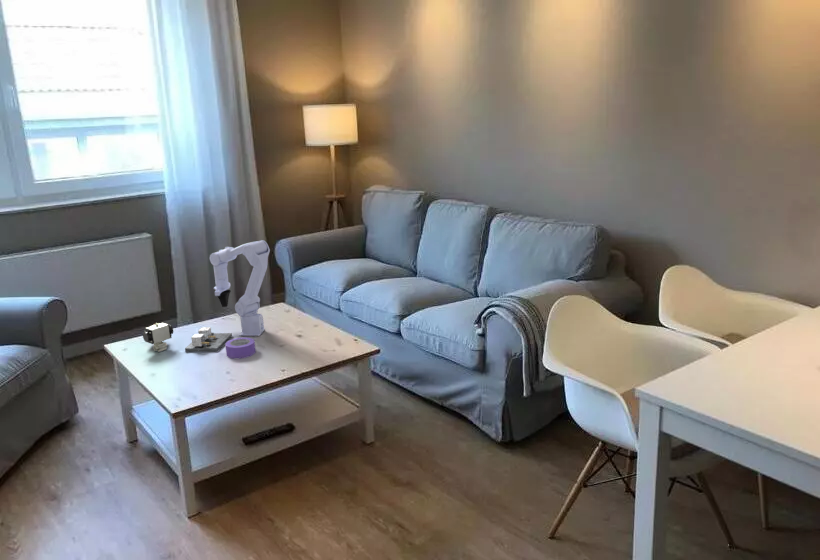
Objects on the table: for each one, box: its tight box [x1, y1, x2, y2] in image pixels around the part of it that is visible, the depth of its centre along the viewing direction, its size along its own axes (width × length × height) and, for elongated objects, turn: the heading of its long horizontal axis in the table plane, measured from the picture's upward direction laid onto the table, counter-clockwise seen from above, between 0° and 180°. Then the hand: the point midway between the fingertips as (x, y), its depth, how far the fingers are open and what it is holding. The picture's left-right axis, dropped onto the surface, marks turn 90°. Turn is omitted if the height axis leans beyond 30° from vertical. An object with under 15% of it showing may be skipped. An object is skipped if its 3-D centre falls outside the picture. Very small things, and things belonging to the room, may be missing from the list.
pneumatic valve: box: [142, 322, 174, 353], centre depth 293 cm, size 6×12×12 cm, turn 140°
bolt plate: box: [184, 332, 233, 353], centre depth 299 cm, size 14×18×6 cm
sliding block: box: [197, 326, 216, 339], centre depth 300 cm, size 6×4×4 cm, turn 84°
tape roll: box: [224, 336, 256, 359], centre depth 287 cm, size 12×12×5 cm
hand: (224, 306), depth 316 cm, fingers closed
